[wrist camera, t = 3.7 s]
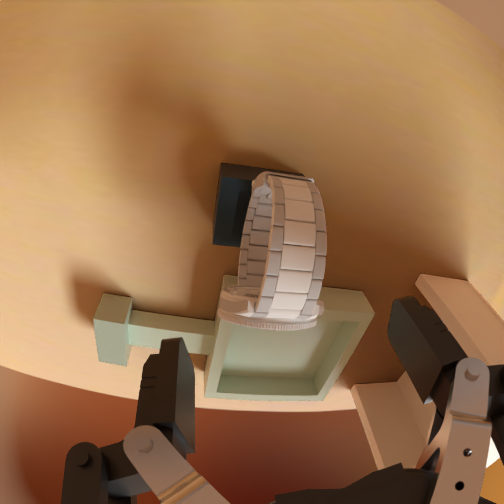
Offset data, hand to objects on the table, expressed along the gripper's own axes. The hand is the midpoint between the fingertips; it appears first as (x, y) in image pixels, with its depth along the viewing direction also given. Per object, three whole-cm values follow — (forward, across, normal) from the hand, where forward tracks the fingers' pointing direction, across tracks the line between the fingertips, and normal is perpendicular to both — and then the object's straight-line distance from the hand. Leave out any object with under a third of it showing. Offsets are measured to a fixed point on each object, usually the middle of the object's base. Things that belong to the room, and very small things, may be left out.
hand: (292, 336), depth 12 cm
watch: (+13, 0, 0) cm, 13 cm away
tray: (+12, +4, +11) cm, 17 cm away
